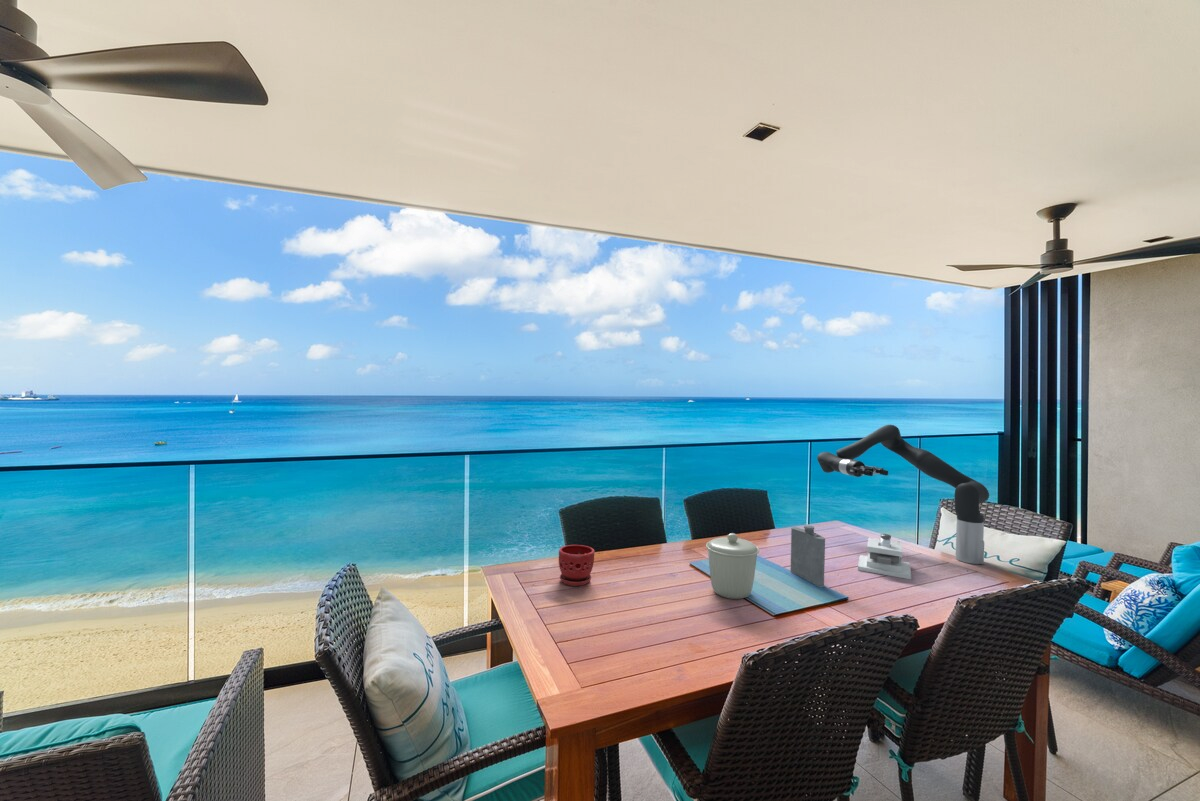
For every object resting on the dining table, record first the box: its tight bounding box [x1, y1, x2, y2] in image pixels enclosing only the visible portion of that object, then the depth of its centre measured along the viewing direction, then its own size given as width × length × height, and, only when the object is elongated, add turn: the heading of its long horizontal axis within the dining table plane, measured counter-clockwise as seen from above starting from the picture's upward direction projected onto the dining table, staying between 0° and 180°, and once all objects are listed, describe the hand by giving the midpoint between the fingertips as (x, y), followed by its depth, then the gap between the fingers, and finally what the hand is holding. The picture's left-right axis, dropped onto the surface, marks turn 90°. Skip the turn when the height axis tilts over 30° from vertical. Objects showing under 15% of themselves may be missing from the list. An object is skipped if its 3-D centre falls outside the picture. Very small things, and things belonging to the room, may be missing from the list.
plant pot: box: [558, 544, 595, 587], centre depth 182 cm, size 13×13×12 cm
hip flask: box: [789, 524, 826, 588], centre depth 187 cm, size 16×4×20 cm, turn 20°
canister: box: [705, 532, 760, 600], centre depth 172 cm, size 18×18×21 cm
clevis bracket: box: [857, 537, 912, 580], centre depth 198 cm, size 18×17×10 cm
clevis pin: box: [880, 533, 892, 547], centre depth 198 cm, size 4×4×12 cm
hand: (880, 473), depth 218 cm, fingers open, 8 cm apart
